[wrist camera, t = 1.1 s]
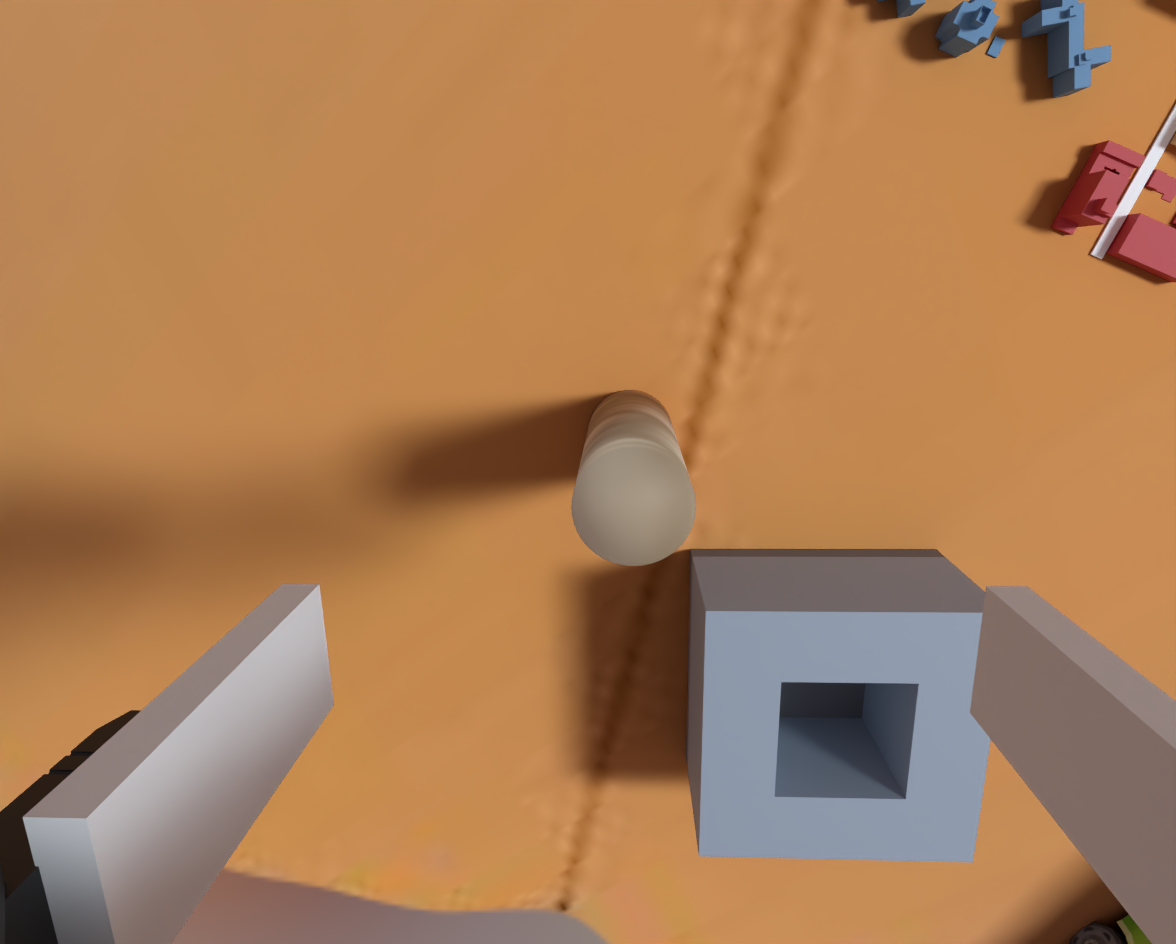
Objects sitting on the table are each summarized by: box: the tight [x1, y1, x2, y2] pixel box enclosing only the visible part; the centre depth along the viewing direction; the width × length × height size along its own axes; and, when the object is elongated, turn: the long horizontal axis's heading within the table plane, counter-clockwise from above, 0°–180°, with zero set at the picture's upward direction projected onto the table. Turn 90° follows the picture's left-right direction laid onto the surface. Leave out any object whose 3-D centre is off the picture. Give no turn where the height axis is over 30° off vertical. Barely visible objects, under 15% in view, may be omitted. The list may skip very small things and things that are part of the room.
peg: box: [572, 390, 696, 566], centre depth 29 cm, size 4×4×12 cm
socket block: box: [686, 549, 991, 862], centre depth 34 cm, size 12×12×7 cm
